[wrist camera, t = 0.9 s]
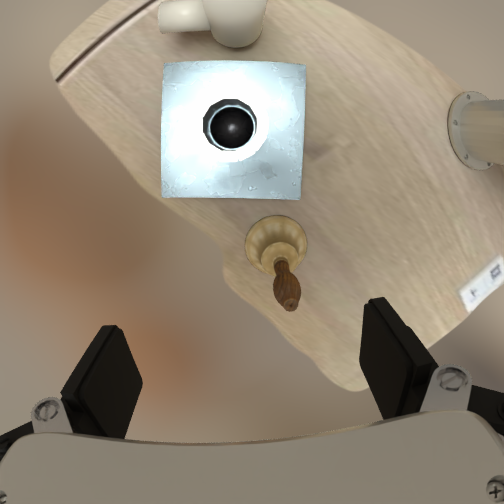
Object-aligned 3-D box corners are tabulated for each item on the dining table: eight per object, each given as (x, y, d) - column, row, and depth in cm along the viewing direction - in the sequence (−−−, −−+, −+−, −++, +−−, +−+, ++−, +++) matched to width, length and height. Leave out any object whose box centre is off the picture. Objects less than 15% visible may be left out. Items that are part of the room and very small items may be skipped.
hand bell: (253, 280, 43) (258, 352, 28) (237, 223, 40) (234, 274, 25) (311, 266, 42) (344, 331, 27) (300, 208, 40) (333, 251, 25)
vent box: (299, 72, 33) (318, 50, 24) (294, 194, 39) (310, 211, 29) (171, 70, 33) (149, 49, 23) (169, 191, 38) (146, 208, 29)
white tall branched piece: (261, 15, 30) (271, -49, 15) (260, 55, 32) (270, 3, 17) (177, 17, 30) (143, -42, 15) (174, 56, 32) (133, 10, 17)
